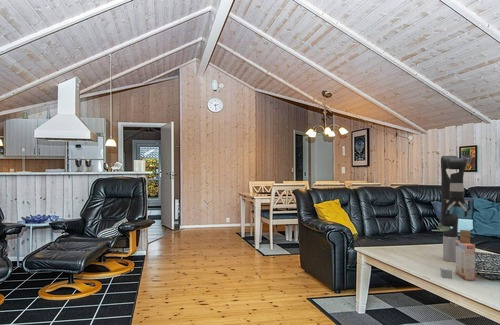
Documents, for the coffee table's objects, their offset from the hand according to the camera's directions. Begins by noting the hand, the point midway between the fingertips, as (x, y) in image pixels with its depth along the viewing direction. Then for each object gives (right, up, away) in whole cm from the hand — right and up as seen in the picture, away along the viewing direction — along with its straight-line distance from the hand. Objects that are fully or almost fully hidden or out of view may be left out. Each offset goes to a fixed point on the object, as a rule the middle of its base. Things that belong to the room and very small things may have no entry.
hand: (456, 216), depth 219 cm
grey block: (-9, -36, -4) cm, 37 cm away
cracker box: (+3, -36, -4) cm, 36 cm away
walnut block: (+3, -15, -4) cm, 16 cm away
